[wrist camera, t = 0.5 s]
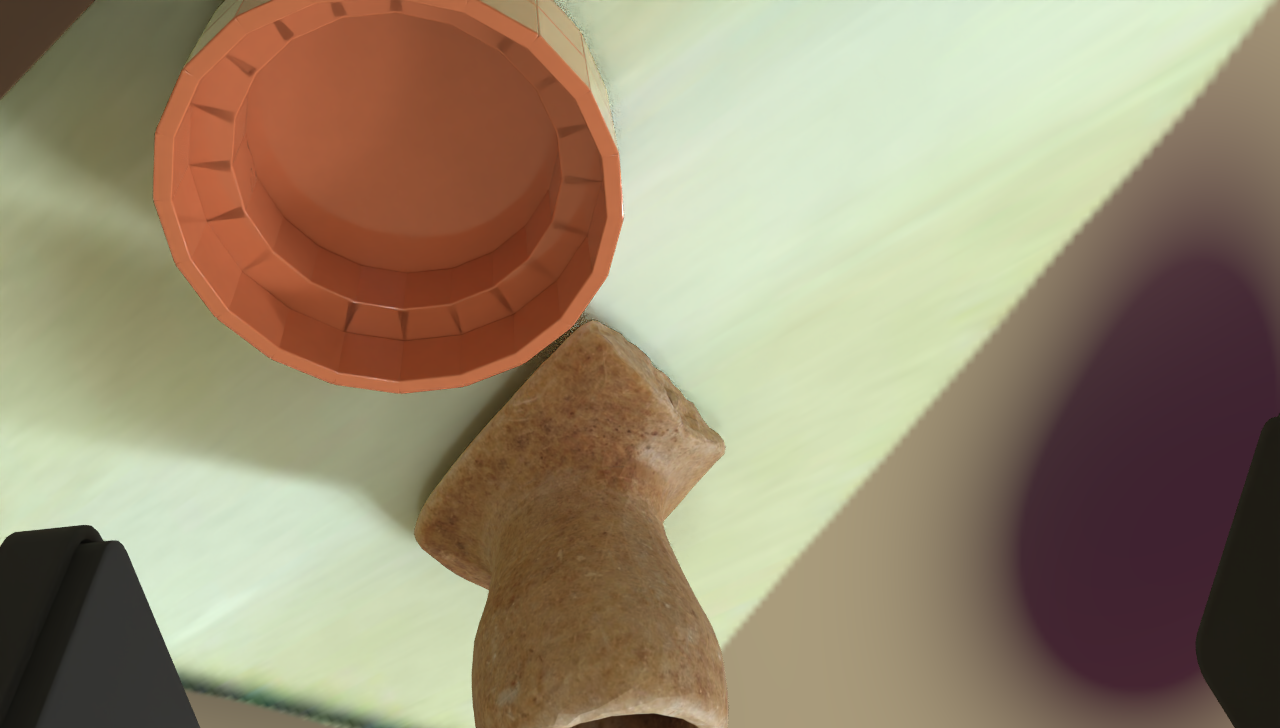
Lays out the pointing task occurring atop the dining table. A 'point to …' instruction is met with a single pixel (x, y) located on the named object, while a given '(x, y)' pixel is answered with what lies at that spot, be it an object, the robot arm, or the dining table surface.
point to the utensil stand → (31, 33)
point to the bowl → (391, 184)
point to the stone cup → (583, 547)
